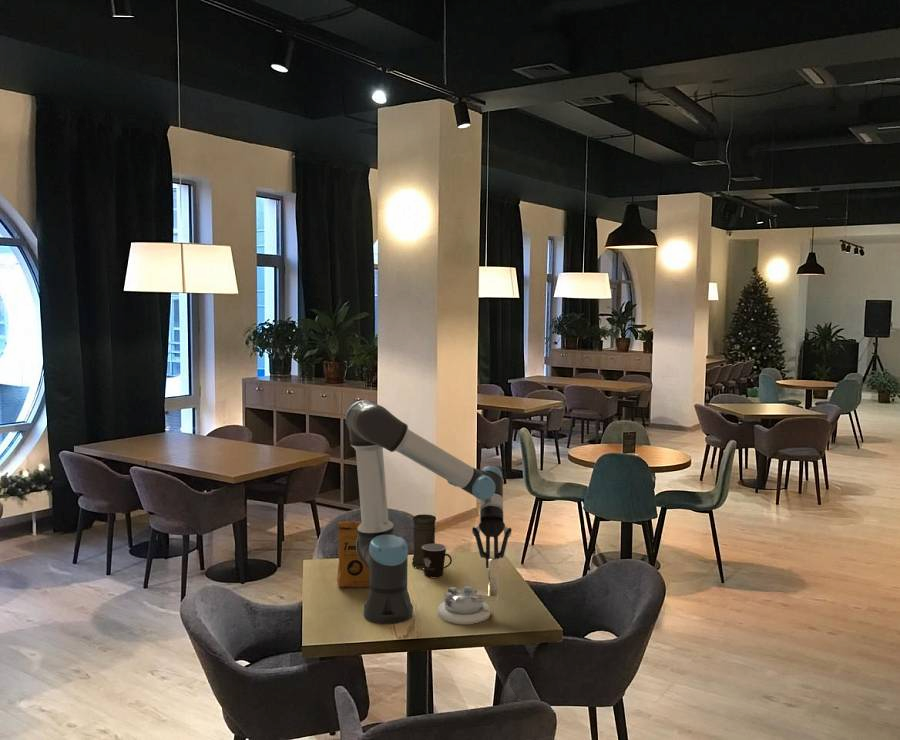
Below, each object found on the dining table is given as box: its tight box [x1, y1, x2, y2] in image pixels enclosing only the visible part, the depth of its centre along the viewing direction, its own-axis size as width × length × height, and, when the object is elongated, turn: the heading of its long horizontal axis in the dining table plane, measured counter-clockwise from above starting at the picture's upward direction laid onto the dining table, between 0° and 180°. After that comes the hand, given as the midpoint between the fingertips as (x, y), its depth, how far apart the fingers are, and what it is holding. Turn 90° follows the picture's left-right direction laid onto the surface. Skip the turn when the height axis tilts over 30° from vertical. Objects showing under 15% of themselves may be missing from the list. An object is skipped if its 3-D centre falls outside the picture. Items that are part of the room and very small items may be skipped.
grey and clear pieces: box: [444, 558, 500, 615], centre depth 252 cm, size 16×12×16 cm
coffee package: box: [336, 521, 370, 588], centre depth 278 cm, size 10×12×22 cm
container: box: [411, 514, 437, 569], centre depth 299 cm, size 9×9×18 cm
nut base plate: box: [437, 601, 491, 625], centre depth 254 cm, size 16×16×2 cm
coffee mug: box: [422, 543, 453, 578], centre depth 288 cm, size 12×9×10 cm
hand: (492, 577), depth 254 cm, fingers closed
